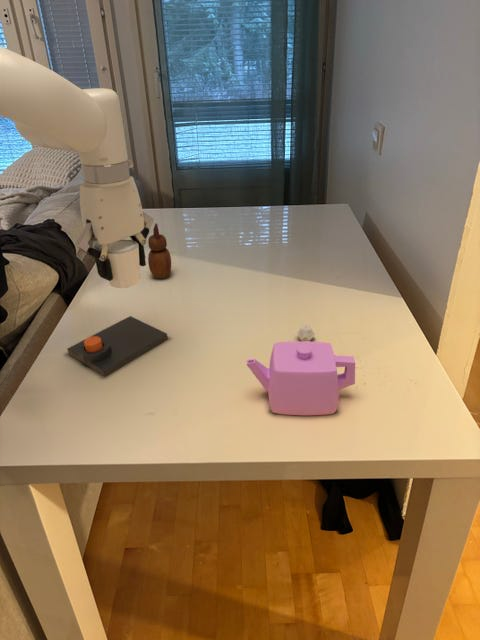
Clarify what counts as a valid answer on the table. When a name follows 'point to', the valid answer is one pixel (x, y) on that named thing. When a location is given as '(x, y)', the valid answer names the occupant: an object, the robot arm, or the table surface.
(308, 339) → the game die
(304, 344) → the teapot
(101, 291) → the table surface
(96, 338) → the button
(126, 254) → the beige cup
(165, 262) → the wooden figurine
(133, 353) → the scale
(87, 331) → the table surface
